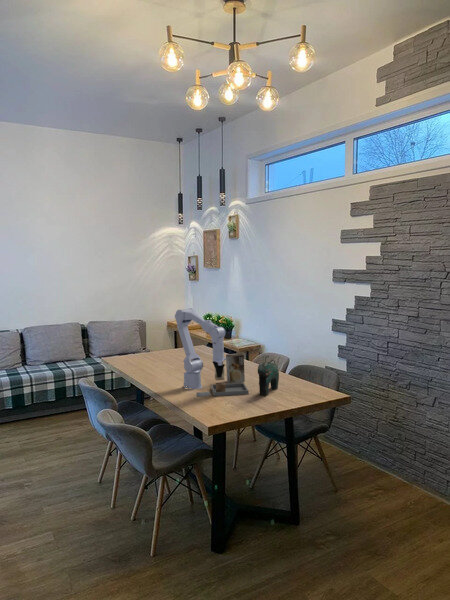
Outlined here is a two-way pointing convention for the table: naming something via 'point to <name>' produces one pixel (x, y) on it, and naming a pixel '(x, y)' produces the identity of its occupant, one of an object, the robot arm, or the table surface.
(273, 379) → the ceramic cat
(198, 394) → the slate coaster
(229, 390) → the bin
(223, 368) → the birch box
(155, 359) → the table surface
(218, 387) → the walnut box
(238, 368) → the coffee box
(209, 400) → the table surface
